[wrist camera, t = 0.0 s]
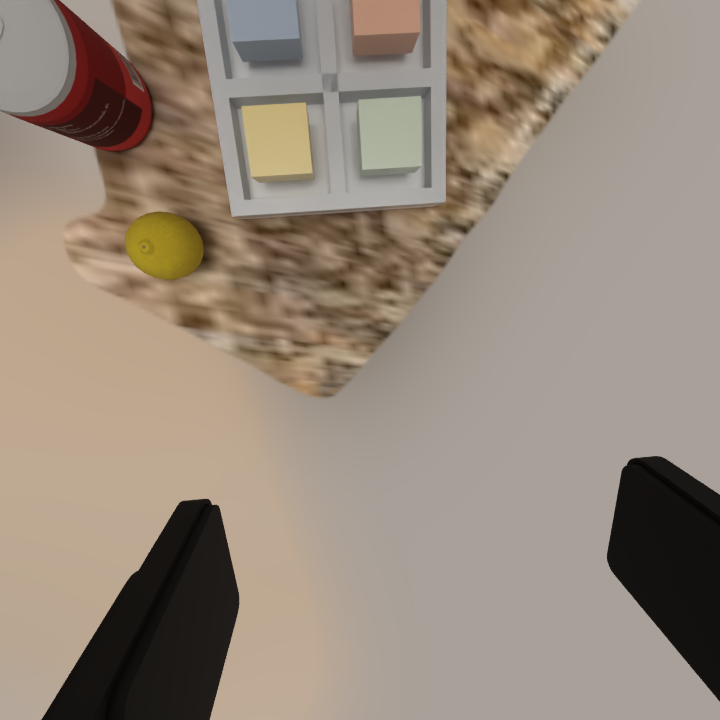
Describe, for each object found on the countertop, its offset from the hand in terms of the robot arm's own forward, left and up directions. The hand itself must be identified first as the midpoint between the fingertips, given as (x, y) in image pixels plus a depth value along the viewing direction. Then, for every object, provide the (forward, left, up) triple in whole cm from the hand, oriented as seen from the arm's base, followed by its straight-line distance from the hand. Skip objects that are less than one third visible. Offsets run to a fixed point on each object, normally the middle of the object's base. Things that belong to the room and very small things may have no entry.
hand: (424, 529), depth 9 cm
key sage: (-14, +3, -27) cm, 31 cm away
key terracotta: (-22, +3, -27) cm, 35 cm away
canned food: (-19, -20, -31) cm, 42 cm away
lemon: (-7, -16, -31) cm, 36 cm away
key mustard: (-14, -5, -27) cm, 31 cm away
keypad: (-18, -1, -31) cm, 36 cm away
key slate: (-22, -5, -27) cm, 36 cm away
